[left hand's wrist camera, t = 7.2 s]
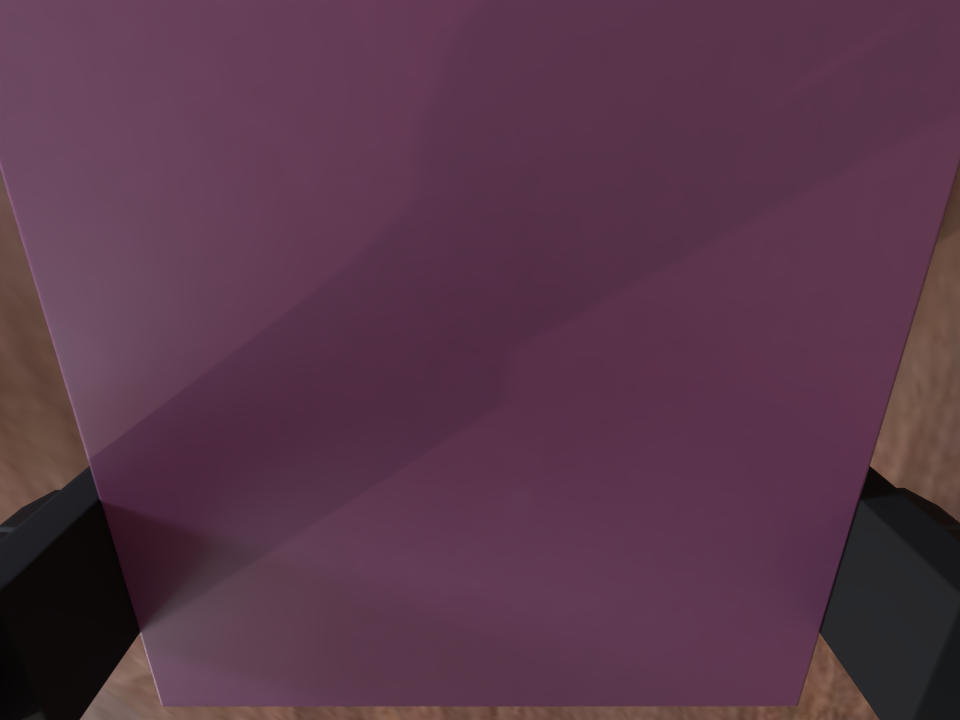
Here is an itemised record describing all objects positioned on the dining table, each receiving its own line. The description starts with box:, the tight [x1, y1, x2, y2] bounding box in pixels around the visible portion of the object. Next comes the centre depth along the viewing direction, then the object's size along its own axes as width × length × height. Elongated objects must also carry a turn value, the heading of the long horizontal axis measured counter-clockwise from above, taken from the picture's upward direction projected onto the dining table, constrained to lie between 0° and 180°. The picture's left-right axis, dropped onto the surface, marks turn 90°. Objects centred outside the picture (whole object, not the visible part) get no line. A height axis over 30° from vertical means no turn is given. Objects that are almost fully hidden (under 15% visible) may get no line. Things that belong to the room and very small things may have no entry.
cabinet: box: [0, 0, 960, 706], centre depth 12 cm, size 19×12×11 cm, turn 0°
